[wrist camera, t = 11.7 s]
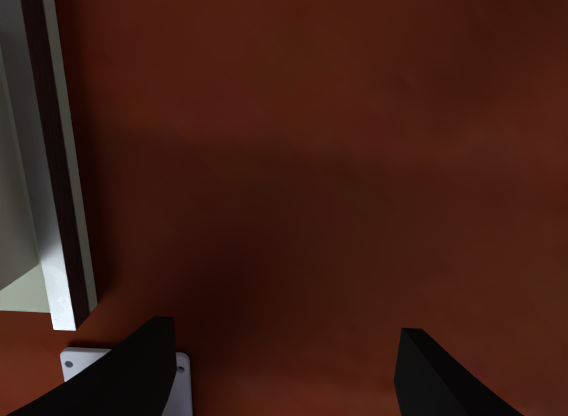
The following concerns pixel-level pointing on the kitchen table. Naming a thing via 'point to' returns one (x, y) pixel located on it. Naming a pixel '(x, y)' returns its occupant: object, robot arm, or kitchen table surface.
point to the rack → (45, 167)
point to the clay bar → (12, 208)
